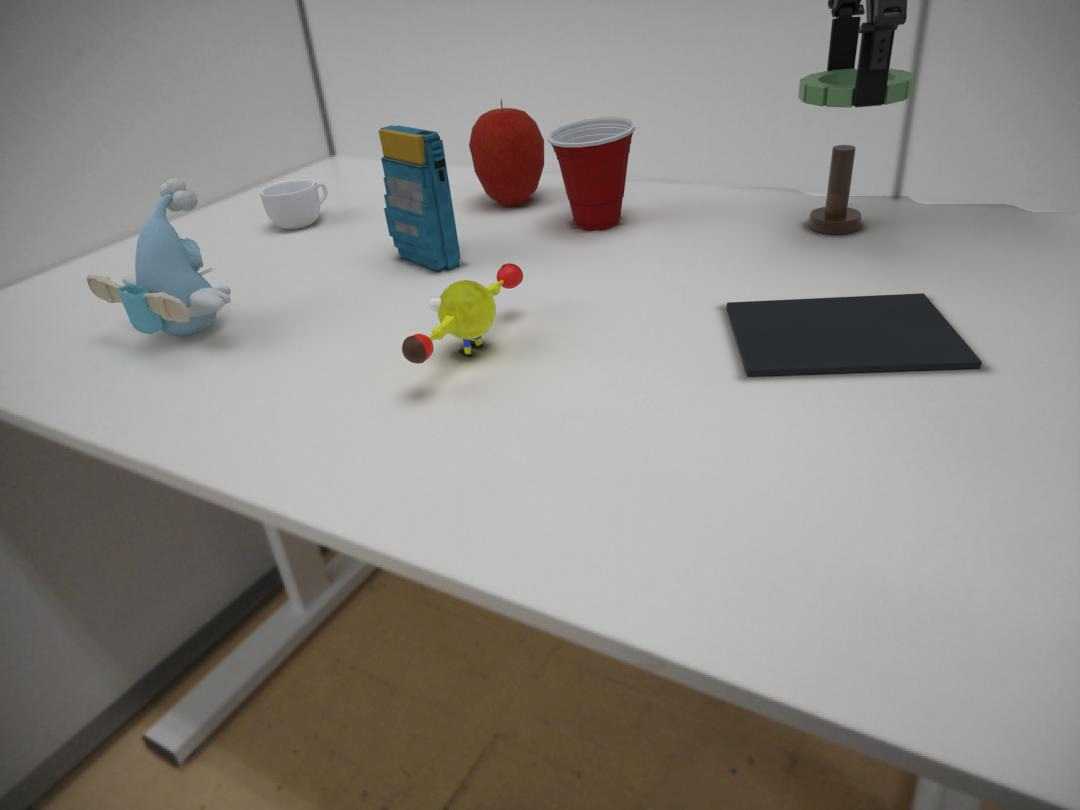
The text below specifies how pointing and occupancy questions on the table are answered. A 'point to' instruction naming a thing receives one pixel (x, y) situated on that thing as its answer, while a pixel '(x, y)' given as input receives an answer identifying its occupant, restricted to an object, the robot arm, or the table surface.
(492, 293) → the toy figure
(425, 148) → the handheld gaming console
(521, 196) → the apple
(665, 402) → the table surface
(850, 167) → the peg stand
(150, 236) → the toy figure
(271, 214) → the teacup
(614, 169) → the plastic cup
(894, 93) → the ring
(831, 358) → the mat
